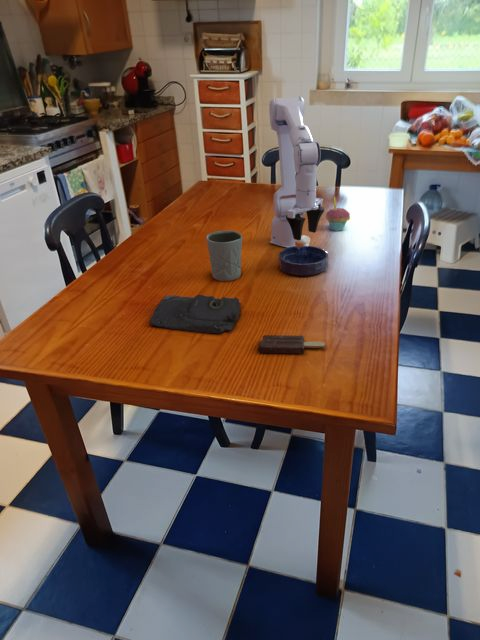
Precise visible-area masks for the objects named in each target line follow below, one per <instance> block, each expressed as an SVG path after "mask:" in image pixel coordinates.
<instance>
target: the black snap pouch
mask: <svg viewBox="0 0 480 640" xmlns="http://www.w3.org/2000/svg"><path fill="white" fill-rule="evenodd" d="M241 305H242V303H241V302H240V299H239V298H238V297H226V296H222V297H221V298H216V297H215V296H214V295H209V296H208V295H204V294H197V295H195V296H194V297H193V296H179V295H174V294H173V295H169V294H168V295H165V296H164V297H163V298H162V299H160V301H159V303H158V304H157V305H156V306H155V308H154V310H153V312H152V315H150V318H149V319H150V320H149V321H150V322H149V325H151V326H155V327H158V328H162V329H169V330H175V331H183V332H192V333H193V332H194V333H195V332H196V333H204V334H205V333H207V334H219V335H220V334H222V333H224V332H231V331H232V330H233V329H235V324H236V323H237V321H238V320H239V317H240V314H241V309H242V308H241Z"/></svg>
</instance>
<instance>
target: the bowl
mask: <svg viewBox="0 0 480 640" xmlns="http://www.w3.org/2000/svg"><path fill="white" fill-rule="evenodd" d="M278 267H279V269H280V270H281V271H283V272H284V273H285V274H289V275H293V276H297V277H298V276H300V277H305V276H306V277H307V276H314V275H318V274H321V273H323V272H324V271H326V270H327V269H328V267H329V252H328V251H326V249H323V248H321V247H318V246H314V245H309V254H308V264H297V263H296V248H295V246H292V247H288V248H286V247H284V248H283V249H282V250H281V251H279V253H278Z"/></svg>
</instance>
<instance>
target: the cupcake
mask: <svg viewBox="0 0 480 640" xmlns="http://www.w3.org/2000/svg"><path fill="white" fill-rule="evenodd" d="M336 198H337V197H335V195H333V208H331V209H329V210H328V211H327V212H326V213H325V219H326V220H327V221H328V223H329V224H328V225H329V227H330V230H332V231H342V230H344V229H345V226H346V224H347V221H349V220H350V219H351V214H350V212H349V211H348V210H347V209H346V208H343V207H342V208H341V207H337V199H336Z"/></svg>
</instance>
